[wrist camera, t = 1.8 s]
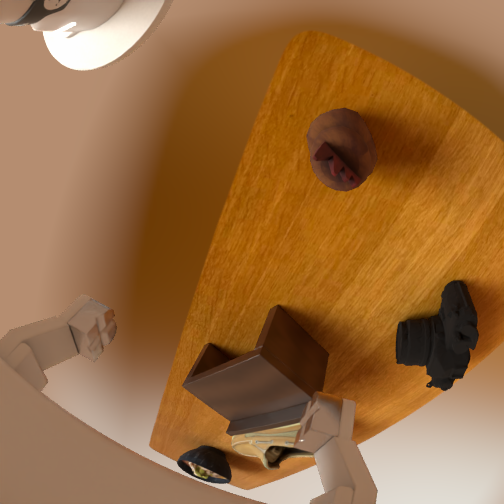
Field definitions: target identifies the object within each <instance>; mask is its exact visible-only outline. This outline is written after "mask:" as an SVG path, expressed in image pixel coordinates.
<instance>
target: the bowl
mask: <svg viewBox="0 0 504 504" xmlns="http://www.w3.org/2000/svg"><path fill="white" fill-rule="evenodd" d="M177 464H178V466H179V467H180V468H181V469H182V470H183V471H185V472H186V473H188V474H190V475H192V476H194V477H196V478H198V479H201V480H204V481H207V482H211V483H219V484H224V483H229V482H230V481H231V477H232V475H231V469H230V467H229V464H228V463H227V461H226V457H225V454H224V453H223V452H221V451H219V450H217V449H215V448H212V447H209V446H200V447H199V448H197V449H193V450H190V451H188V452H186V453H184V454H183V455H182V456H180V458H179V460H178V461H177Z"/></svg>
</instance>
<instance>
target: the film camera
mask: <svg viewBox="0 0 504 504" xmlns="http://www.w3.org/2000/svg"><path fill="white" fill-rule="evenodd" d="M441 297H442V303H441V308H440V309H439V314H438V316H431V317H430V318H429V320H427V319H420V320H411V319H409V320H407V321H406V322H399V324H398V329H397V335H396V359H397V362H396V363H397V364H404V365H406V366H412V365H419V366H425V365H426V368H427V375H429V376H431V377H432V380H431V381H430V382H429V383H427V385H426V387H429V388H431V387H432V386H434V387H437V388H438V387H439V388H441V390H443V391H446V390H448V389H450V388H451V387H452V386H453V382H454V380H455V379H461V378H463V376H464V373H465V371H466V369H467V368H468V363H469V361H470V351H469V348H471V349H472V350H474V349H475V347H476V344H477V341H478V336H479V333H478V331H477V328H476V327H477V321H478V319H477V312H476V310H475V307H474V305H473V302H472V299H471V297H470V294H469V292H468V289H467V286H466V285H465V284H464V283H463V282H462V281H452V282H450V283H448V284H447V285H446V286H445V288H444V291H443V292H442V295H441ZM428 384H429V385H428Z"/></svg>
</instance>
